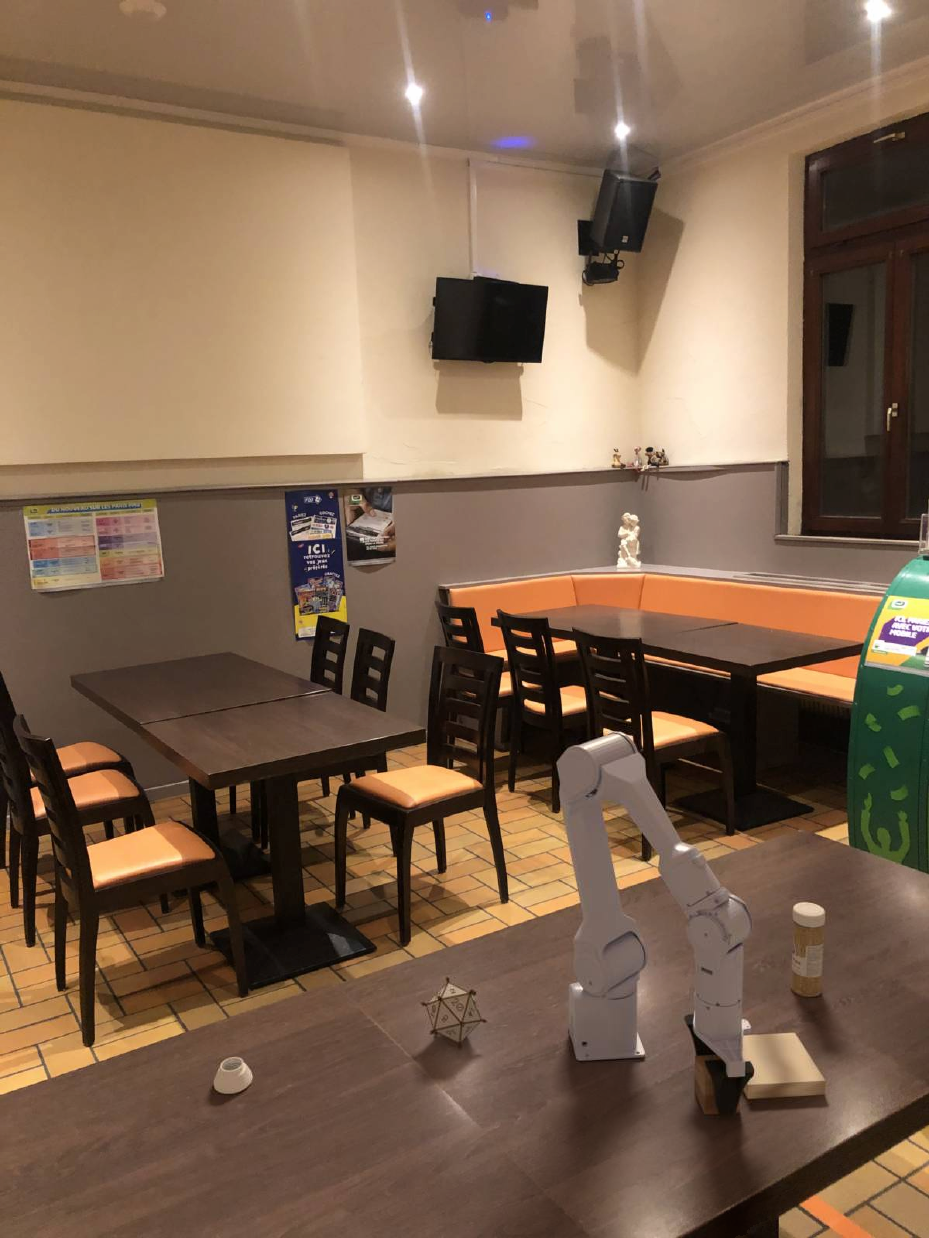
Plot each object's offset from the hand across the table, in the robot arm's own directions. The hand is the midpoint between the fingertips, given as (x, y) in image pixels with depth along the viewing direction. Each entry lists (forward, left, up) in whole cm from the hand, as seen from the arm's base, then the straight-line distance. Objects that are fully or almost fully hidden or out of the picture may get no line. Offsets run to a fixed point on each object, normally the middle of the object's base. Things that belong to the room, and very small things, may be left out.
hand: (716, 1090), depth 118 cm
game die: (-33, +16, -2) cm, 37 cm away
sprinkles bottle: (+21, +23, -2) cm, 31 cm away
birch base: (+9, +5, -1) cm, 10 cm away
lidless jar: (-63, +9, -2) cm, 64 cm away
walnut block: (0, 0, -2) cm, 2 cm away
